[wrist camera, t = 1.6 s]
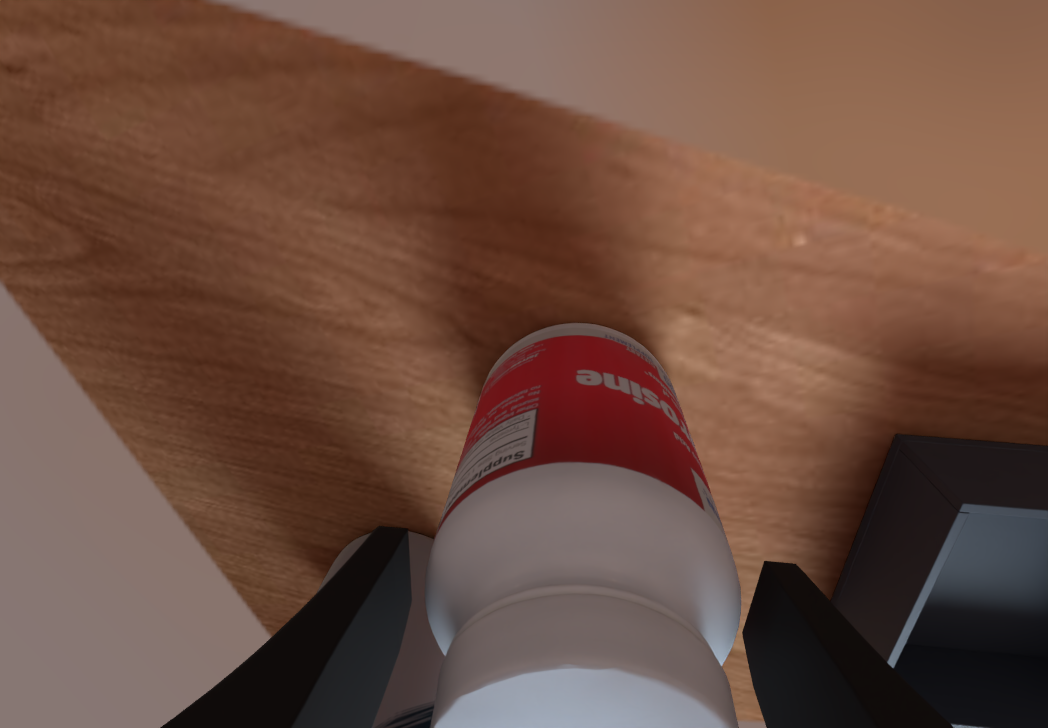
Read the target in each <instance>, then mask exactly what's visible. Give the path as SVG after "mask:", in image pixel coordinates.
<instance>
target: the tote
mask: <svg viewBox="0 0 1048 728" xmlns="http://www.w3.org/2000/svg"><path fill="white" fill-rule="evenodd" d="M831 603H832V604H833V605H834V606H835V607H836V608H837V609H838V610H839V612H840V613H841V614H842V615H843V616H844V617H845V618H846V619H847V620H848V621H849V622H850V624H851V625H852V626H853V627H854V628H855V629H856V630H857V631H858V632H859V633H860V634H861V635H862V636H863V638H864V639H865V640H866V641H867V642H868V643H869V644H870V645H871V646H872V647H873V648H874V649H875V650H876V651H877V652H878V653H879V654H880V655H881V656H882V657H883V658H884V660H885V661H886V662H887V663H888V664H889V665H890V666H891V667H892V668H893V669H894V670H895V671H896V672H897V673H898V674H899V675H900V676H901V677H902V678H903V679H904V680H905V681H906V682H907V683H908V684H909V685H910V686H911V687H912V688H913V689H914V690H915V691H916V692H917V693H918V694H920V695H921V696H922V697H923V698H924V699H925V700H926V701H927V702H928V703H929V704H930V705H931V706H932V707H933V708H934V709H935V710H936V711H937V712H938V713H939V714H940V715H941V716H942V717H943V718H944V719H946V720H947V721H948V722H949V723H950V724H951V725H952V726H953V727H954V728H1048V446H1040V445H1028V444H1015V443H1002V442H990V441H977V440H964V439H951V438H939V437H926V436H913V435H901V434H896V435H895V437H894V440H893V443H892V445H891V448H890V450H889V453H888V455H887V458H886V461H885V463H884V466H883V468H882V471H881V473H880V476H879V479H878V481H877V484H876V486H875V489H874V491H873V494H872V496H871V499H870V502H869V504H868V507H867V509H866V512H865V514H864V517H863V520H862V522H861V525H860V527H859V530H858V532H857V535H856V538H855V540H854V543H853V545H852V548H851V550H850V553H849V556H848V558H847V561H846V563H845V566H844V568H843V571H842V574H841V576H840V579H839V581H838V584H837V586H836V589H835V592H834V594H833V597H832V599H831Z"/></svg>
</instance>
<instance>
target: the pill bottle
mask: <svg viewBox="0 0 1048 728" xmlns="http://www.w3.org/2000/svg"><path fill="white" fill-rule="evenodd" d="M425 603H426V610H427V616H428V620H429V623H430V626H431V629H432V632H433V634H434V637H435V639H436V641H437V643H438V645H439V647H440V649H441V651H442V652H443V654H444V655H445V658H444V661H443V663H442V666H441V669H440V673H439V678H438V688H437V694H436V699H435V705H434V710H433V715H432V720H431V726H430V728H739V727H738V722H737V718H736V713H735V708H734V704H733V699H732V694H731V689H730V685H729V682H728V679H727V676H726V674H725V672H724V670H723V668H722V665H723V663H724V661H725V660H726V658H727V656H728V654H729V652H730V650H731V648H732V646H733V643H734V640H735V637H736V634H737V630H738V627H739V621H740V614H741V591H740V583H739V579H738V574H737V570H736V566H735V563H734V559H733V556H732V552H731V549H730V546H729V544H728V541H727V538H726V535H725V532H724V529H723V526H722V523H721V520H720V517H719V514H718V512H717V509H716V506H715V503H714V501H713V498H712V495H711V492H710V489H709V486H708V483H707V480H706V477H705V475H704V472H703V469H702V466H701V463H700V460H699V458H698V455H697V452H696V449H695V445H694V443H693V440H692V438H691V435H690V433H689V430H688V427H687V424H686V421H685V419H684V416H683V413H682V410H681V407H680V404H679V402H678V399H677V396H676V393H675V391H674V388H673V386H672V383H671V381H670V379H669V377H668V375H667V374H666V372H665V370H664V369H663V368H662V366H661V365H660V363H659V362H658V361H657V359H656V358H655V357H654V356H653V355H652V354H651V353H650V352H649V351H648V350H647V349H646V348H645V347H644V346H642V345H641V344H640V343H638V342H637V341H635V340H634V339H632V338H631V337H629V336H627V335H625V334H623V333H621V332H619V331H616V330H614V329H611V328H608V327H604V326H600V325H596V324H588V323H567V324H560V325H555V326H551V327H547V328H544V329H541V330H538V331H536V332H533V333H531V334H529V335H527V336H526V337H524V338H522V339H521V340H519V341H518V342H516V343H515V344H513V345H512V346H511V347H510V348H509V349H508V350H507V351H506V352H505V353H504V354H503V355H502V356H501V357H500V358H499V359H498V361H497V362H496V363H495V365H494V366H493V368H492V369H491V371H490V373H489V375H488V377H487V379H486V381H485V384H484V386H483V389H482V392H481V395H480V397H479V400H478V404H477V407H476V411H475V414H474V417H473V420H472V423H471V426H470V429H469V432H468V435H467V439H466V442H465V445H464V448H463V452H462V455H461V457H460V461H459V464H458V467H457V470H456V473H455V477H454V480H453V483H452V486H451V489H450V493H449V496H448V499H447V502H446V505H445V508H444V511H443V514H442V517H441V521H440V524H439V526H438V529H437V533H436V535H435V538H434V542H433V545H432V548H431V551H430V557H429V561H428V565H427V569H426V577H425Z"/></svg>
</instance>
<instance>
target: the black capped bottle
mask: <svg viewBox="0 0 1048 728" xmlns="http://www.w3.org/2000/svg"><path fill="white" fill-rule="evenodd" d="M370 534H371V533H369V534H366V535H364V536H361V537H359V538H357V539H355V540H354V541H352V542H351V543H350V544H348V545H347V546H346V547H345V548H344V549H343V550H342V551H341V553H340V554H339V555H338V557H337V558H336V560H335V561H334V563H333V564H332V566H331V568H330V570H329V571H328V573H327V575H326V577H325V578H324V580H323V582H322V584H321V586H320V588H319V590H320V589H321V588H322V587H323V586H324V585H325V584H326V583H327V582H328V581H329V580H330V579H331V578H332V577H333V576H334V575H335V574H336V572H337V571H338V570H339V569H340V568H341V567H342V566H343V565H344V564H345V563H346V561H347V560H348V559H349V558H350V557H351V556H352V555H353V554H354V553H355V551H356V550H357V549H358V548H359V547H360V546H361V544H362V543H363V542H364V541H365V540H366V539H367V538H368V536H369V535H370ZM408 536H409V554H410V573H411V591H412V603H411V607H410V611H409V616H408V620H407V624H406V628H405V632H404V636H403V640H402V644H401V648H400V652H399V654H398V657H397V660H396V663H395V666H394V668H393V671H392V674H391V677H390V680H389V682H388V685H387V688H386V691H385V693H384V696H383V699H382V702H381V704H380V707H379V710H378V713H377V715H376V718H375V721H374V724H373V726H372V728H430V726H431V720H432V715H433V710H434V705H435V699H436V694H437V688H438V678H439V673H440V669H441V666H442V663H443V661H444V658H445V655H444V654H443V652H442V651H441V649H440V647H439V645H438V643H437V641H436V639H435V637H434V634H433V632H432V629H431V626H430V623H429V620H428V616H427V610H426V603H425V577H426V569H427V565H428V561H429V557H430V551H431V548H432V545H433V542H434V539H431V538H429V537H427V536H424V535H421V534H418V533H414V532H409V531H408ZM319 590H318V591H319ZM318 591H317V592H318Z"/></svg>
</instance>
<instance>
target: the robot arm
mask: <svg viewBox="0 0 1048 728" xmlns="http://www.w3.org/2000/svg"><path fill="white" fill-rule="evenodd" d="M411 603H412V591H411V573H410V554H409V536H408V529H406V528H395V527H384V526H379V527H377V528H376V529H375V530H374V531H373V532H372V533H371V534H370V535H369V536H368V538H367V539H366V540H365V541H364V542H363V543H362V544H361V546H360V547H359V548H358V549H357V550H356V551H355V553H354V554H353V555H352V556H351V557H350V558H349V559H348V560H347V561H346V563H345V564H344V565H343V566H342V567H341V568H340V569H339V570H338V571H337V572H336V574H335V575H334V576H333V577H332V578H331V579H330V580H329V581H328V582H327V583H326V584H325V585H324V586H323V587H322V588H321V589H320V590H319V591H318V592H317V593H316V595H315V596H314V597H313V598H312V599H311V600H310V601H309V602H308V603H307V604H306V605H305V606H304V607H303V608H302V609H301V610H300V611H299V612H298V613H297V614H296V615H295V616H294V617H293V618H291V619H290V620H289V621H288V622H287V623H286V624H285V625H284V626H283V627H282V628H281V629H280V630H279V631H278V632H277V633H276V634H275V635H274V636H272V637H271V638H270V639H269V640H268V641H267V642H266V643H265V644H264V645H263V646H262V647H261V648H259V649H258V650H257V651H256V652H255V653H254V654H253V655H252V656H250V657H249V658H248V659H247V660H246V661H245V662H243V663H242V664H241V665H240V666H239V667H238V668H236V669H235V670H234V671H233V672H232V673H231V674H229V675H228V676H227V677H226V678H224V679H223V680H222V681H221V682H219V683H218V684H217V685H216V686H215V687H213V688H212V689H211V690H210V691H208V692H207V693H206V694H204V695H203V696H202V697H201V698H199V699H198V700H196V701H195V702H194V703H193V704H191V705H190V706H189V707H187V708H186V709H185V710H183V711H182V712H181V713H180V714H178V715H177V716H176V717H175V718H173V719H172V720H170V721H169V722H167V723H166V724H165V725H163V726H162V727H161V728H372V726H373V724H374V721H375V718H376V715H377V713H378V710H379V707H380V704H381V702H382V699H383V696H384V693H385V691H386V688H387V685H388V682H389V680H390V677H391V674H392V671H393V668H394V666H395V663H396V660H397V657H398V654H399V652H400V648H401V644H402V640H403V636H404V632H405V628H406V624H407V620H408V616H409V611H410V607H411ZM742 634H743V639H744V644H745V649H746V654H747V659H748V664H749V669H750V673H751V678H752V682H753V687H754V690H755V693H756V696H757V699H758V702H759V705H760V709H761V712H762V715H763V718H764V721H765V724H766V727H767V728H954V727H953V726H952V725H951V724H950V723H949V722H948V721H947V720H946V719H944V718H943V717H942V716H941V715H940V714H939V713H938V712H937V711H936V710H935V709H934V708H933V707H932V706H931V705H930V704H929V703H928V702H927V701H926V700H925V699H924V698H923V697H922V696H921V695H920V694H918V693H917V692H916V691H915V690H914V689H913V688H912V687H911V686H910V685H909V684H908V683H907V682H906V681H905V680H904V679H903V678H902V677H901V676H900V675H899V674H898V673H897V672H896V671H895V670H894V669H893V668H892V667H891V666H890V665H889V664H888V663H887V662H886V661H885V660H884V658H883V657H882V656H881V655H880V654H879V653H878V652H877V651H876V650H875V649H874V648H873V647H872V646H871V645H870V644H869V643H868V642H867V641H866V640H865V639H864V638H863V636H862V635H861V634H860V633H859V632H858V631H857V630H856V629H855V628H854V627H853V626H852V625H851V624H850V622H849V621H848V620H847V619H846V618H845V617H844V616H843V615H842V614H841V613H840V612H839V610H838V609H837V608H836V607H835V606H834V605H833V604H832V603H831V602H830V601H829V599H828V598H827V597H826V596H825V595H824V594H823V593H822V592H821V591H820V590H819V588H818V587H817V586H816V585H815V584H814V583H813V582H812V581H811V580H810V579H809V577H808V576H807V575H806V574H805V573H804V572H803V571H802V570H801V569H800V568H799V567H798V566H797V565H796V564H793V563H782V562H771V561H764V564H763V567H762V570H761V574H760V577H759V580H758V583H757V587H756V590H755V593H754V596H753V600H752V603H751V606H750V609H749V613H748V616H747V619H746V622H745V626H744V629H743V632H742Z"/></svg>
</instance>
